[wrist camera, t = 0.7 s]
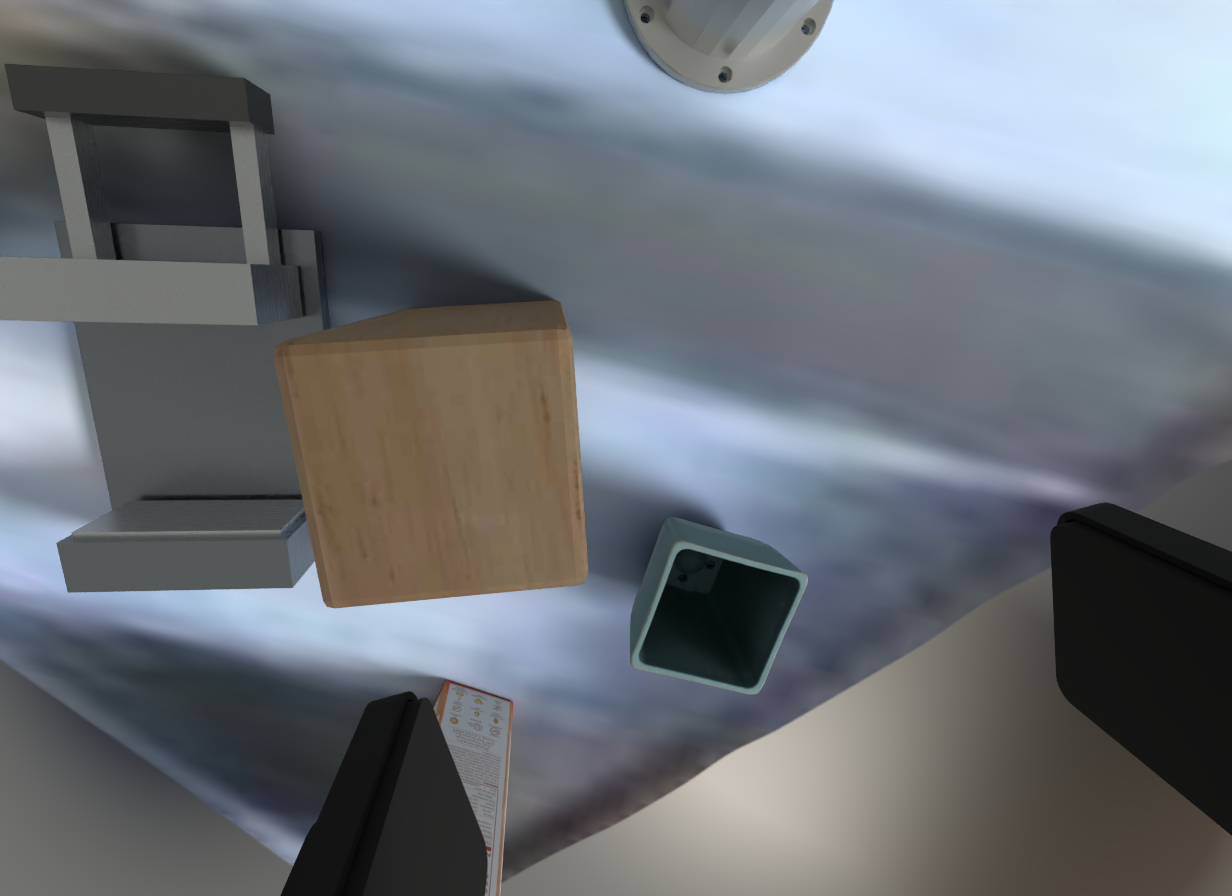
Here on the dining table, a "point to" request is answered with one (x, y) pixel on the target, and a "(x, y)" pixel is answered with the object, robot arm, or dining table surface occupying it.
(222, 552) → the vise
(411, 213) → the dining table surface
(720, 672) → the flower pot
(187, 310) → the sliding jaw
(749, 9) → the robot arm
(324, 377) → the wooden block
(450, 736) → the cracker box
